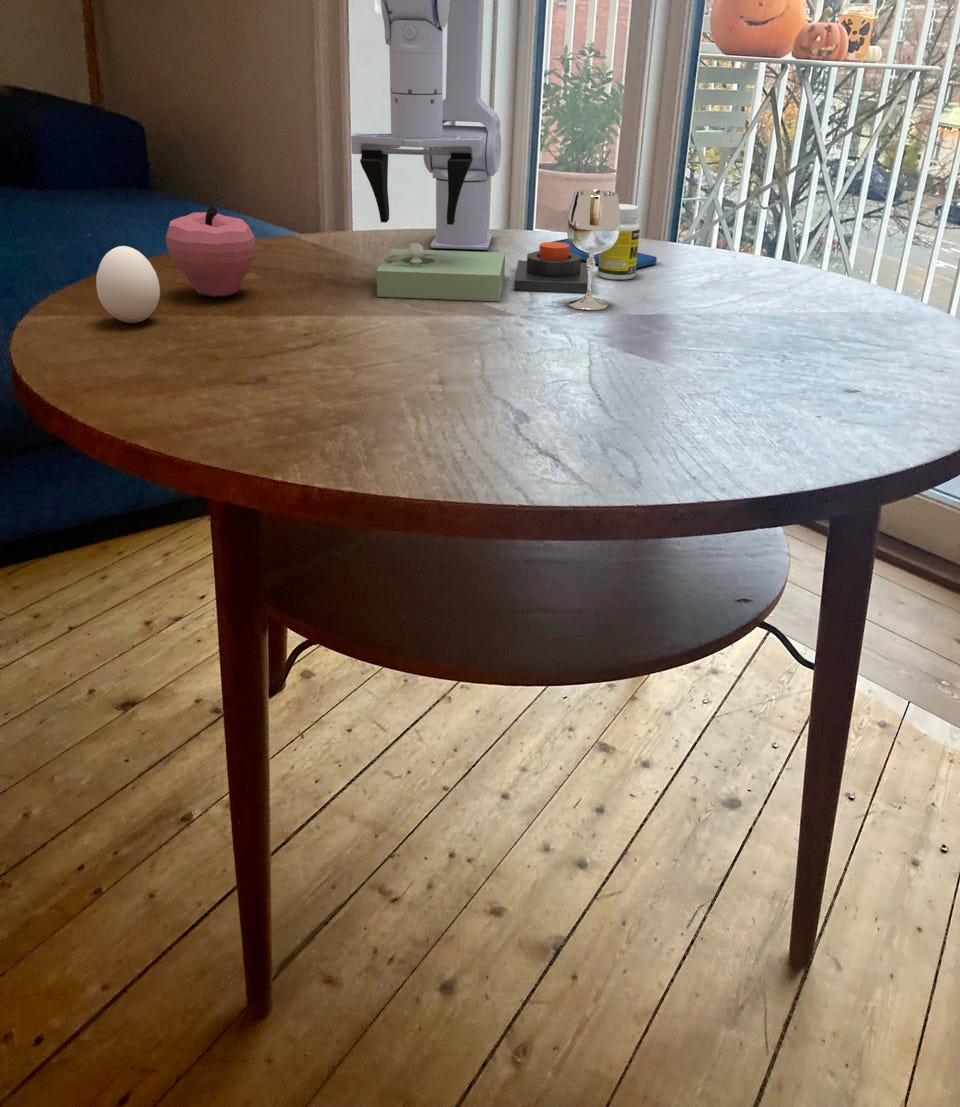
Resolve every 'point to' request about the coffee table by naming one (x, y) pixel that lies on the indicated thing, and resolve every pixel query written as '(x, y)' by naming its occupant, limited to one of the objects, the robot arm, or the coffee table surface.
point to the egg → (127, 285)
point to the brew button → (554, 251)
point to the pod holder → (442, 275)
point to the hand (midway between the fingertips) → (417, 222)
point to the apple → (211, 251)
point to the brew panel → (551, 274)
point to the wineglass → (592, 233)
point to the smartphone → (641, 258)
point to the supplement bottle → (622, 247)
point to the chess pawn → (416, 253)
